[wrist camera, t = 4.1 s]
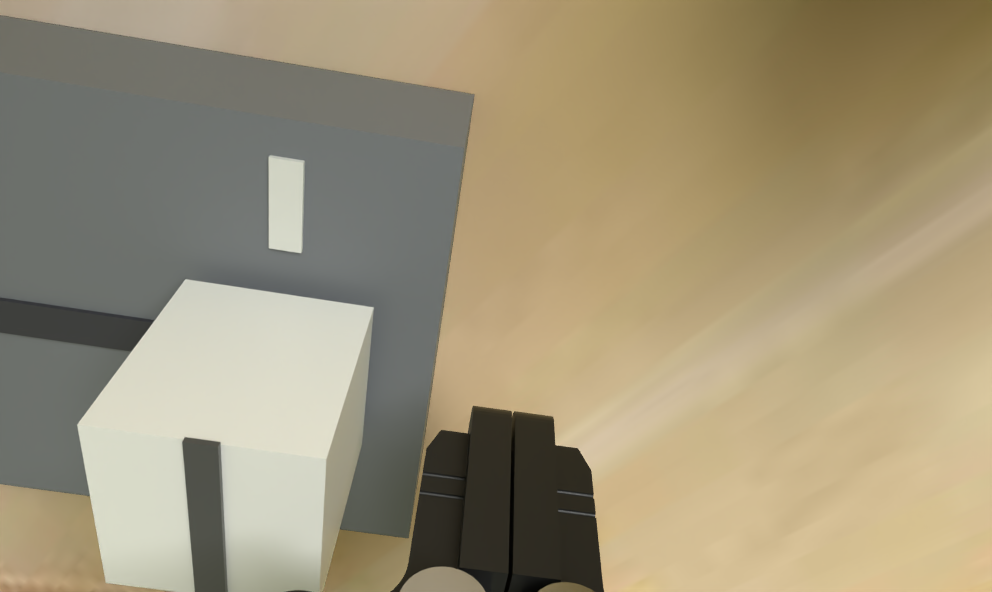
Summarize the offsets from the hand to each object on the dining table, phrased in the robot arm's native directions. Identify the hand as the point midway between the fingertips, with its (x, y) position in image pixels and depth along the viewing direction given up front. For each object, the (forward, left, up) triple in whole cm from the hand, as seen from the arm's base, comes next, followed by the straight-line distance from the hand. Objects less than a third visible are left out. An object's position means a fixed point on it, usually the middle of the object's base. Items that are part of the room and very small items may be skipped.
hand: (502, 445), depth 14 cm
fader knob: (0, -4, -1) cm, 5 cm away
